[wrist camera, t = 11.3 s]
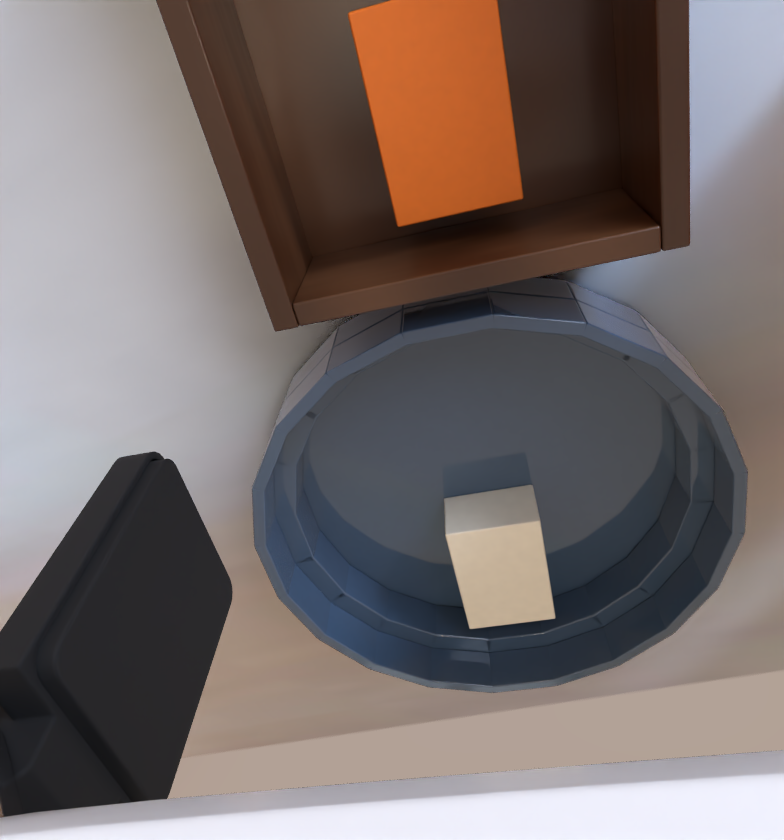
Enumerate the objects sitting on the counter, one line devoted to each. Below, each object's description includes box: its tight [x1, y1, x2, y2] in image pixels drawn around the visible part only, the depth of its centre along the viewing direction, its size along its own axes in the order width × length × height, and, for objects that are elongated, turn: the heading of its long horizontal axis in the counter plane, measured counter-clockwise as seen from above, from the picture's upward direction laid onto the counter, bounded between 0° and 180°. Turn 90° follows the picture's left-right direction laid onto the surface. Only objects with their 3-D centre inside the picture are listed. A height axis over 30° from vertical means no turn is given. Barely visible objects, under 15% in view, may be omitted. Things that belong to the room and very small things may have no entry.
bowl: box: [252, 278, 748, 693], centre depth 28 cm, size 19×19×4 cm
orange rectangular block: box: [348, 0, 523, 227], centre depth 20 cm, size 4×6×2 cm, turn 13°
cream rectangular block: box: [444, 485, 555, 629], centre depth 30 cm, size 4×6×2 cm, turn 13°
